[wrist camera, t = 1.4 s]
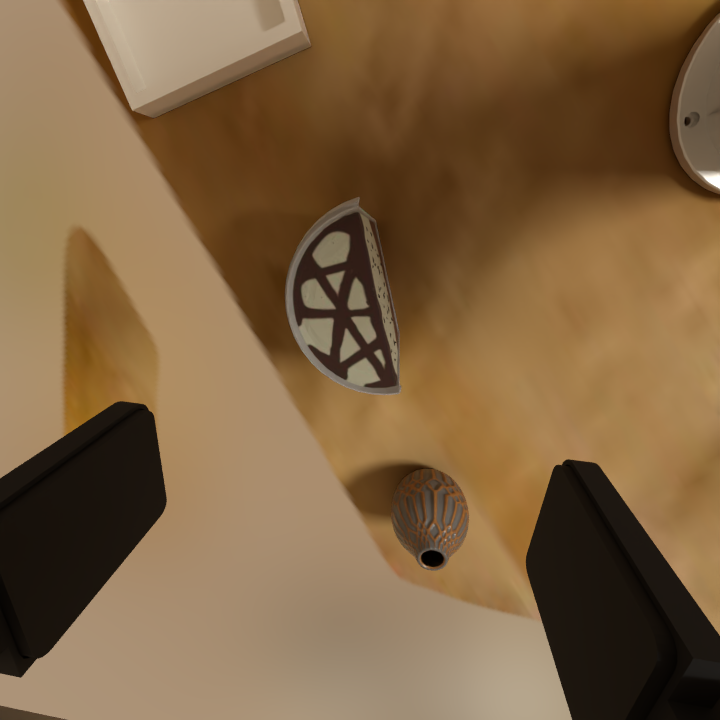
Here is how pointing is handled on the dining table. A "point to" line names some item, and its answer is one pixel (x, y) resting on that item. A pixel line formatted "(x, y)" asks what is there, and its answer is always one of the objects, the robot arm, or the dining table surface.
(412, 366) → the dining table surface
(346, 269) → the food container
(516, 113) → the dining table surface
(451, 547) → the vase
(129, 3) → the tray
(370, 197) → the dining table surface
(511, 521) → the dining table surface
